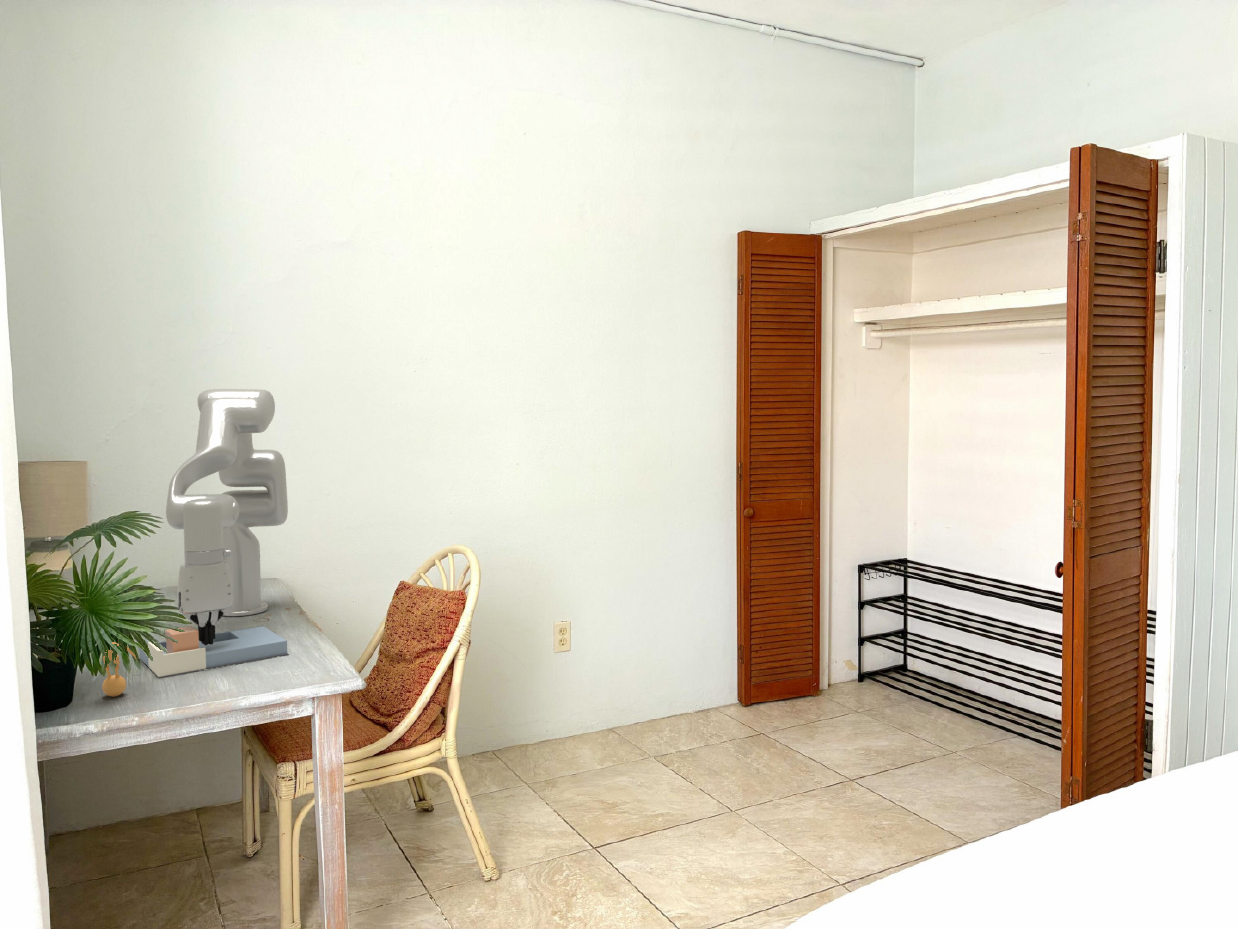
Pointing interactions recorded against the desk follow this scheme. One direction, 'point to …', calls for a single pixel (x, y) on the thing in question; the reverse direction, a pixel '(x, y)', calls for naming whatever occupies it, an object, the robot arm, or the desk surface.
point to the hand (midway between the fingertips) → (207, 643)
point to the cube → (182, 639)
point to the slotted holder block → (217, 652)
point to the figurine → (114, 677)
